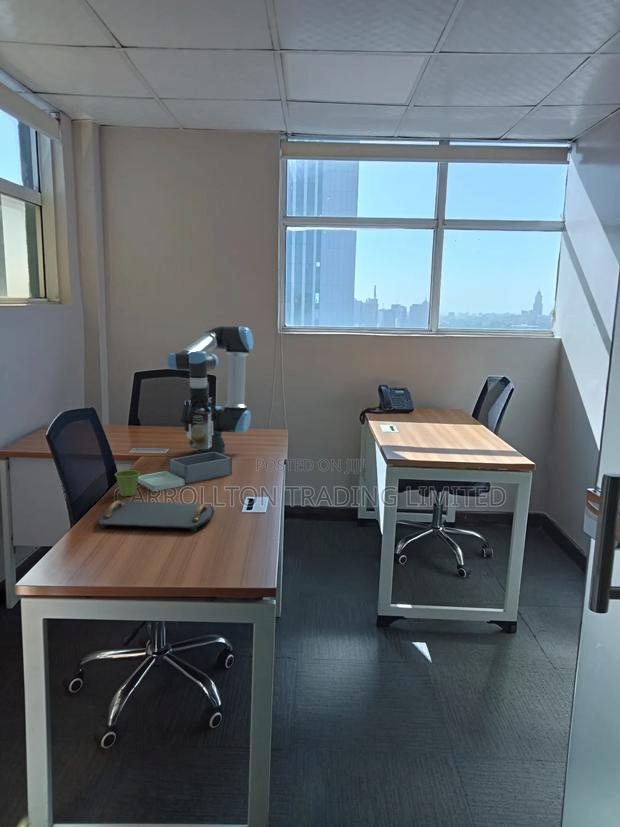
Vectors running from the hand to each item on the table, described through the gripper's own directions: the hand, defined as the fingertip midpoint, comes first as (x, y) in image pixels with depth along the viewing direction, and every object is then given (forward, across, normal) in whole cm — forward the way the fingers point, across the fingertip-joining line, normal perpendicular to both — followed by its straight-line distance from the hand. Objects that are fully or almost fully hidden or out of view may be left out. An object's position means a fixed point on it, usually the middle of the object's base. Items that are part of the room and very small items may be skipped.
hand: (200, 436), depth 251 cm
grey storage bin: (+17, 0, 0) cm, 17 cm away
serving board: (+17, +40, +40) cm, 59 cm away
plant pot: (+17, +36, +6) cm, 41 cm away
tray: (+17, +20, +1) cm, 27 cm away
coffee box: (+5, 0, 0) cm, 5 cm away
